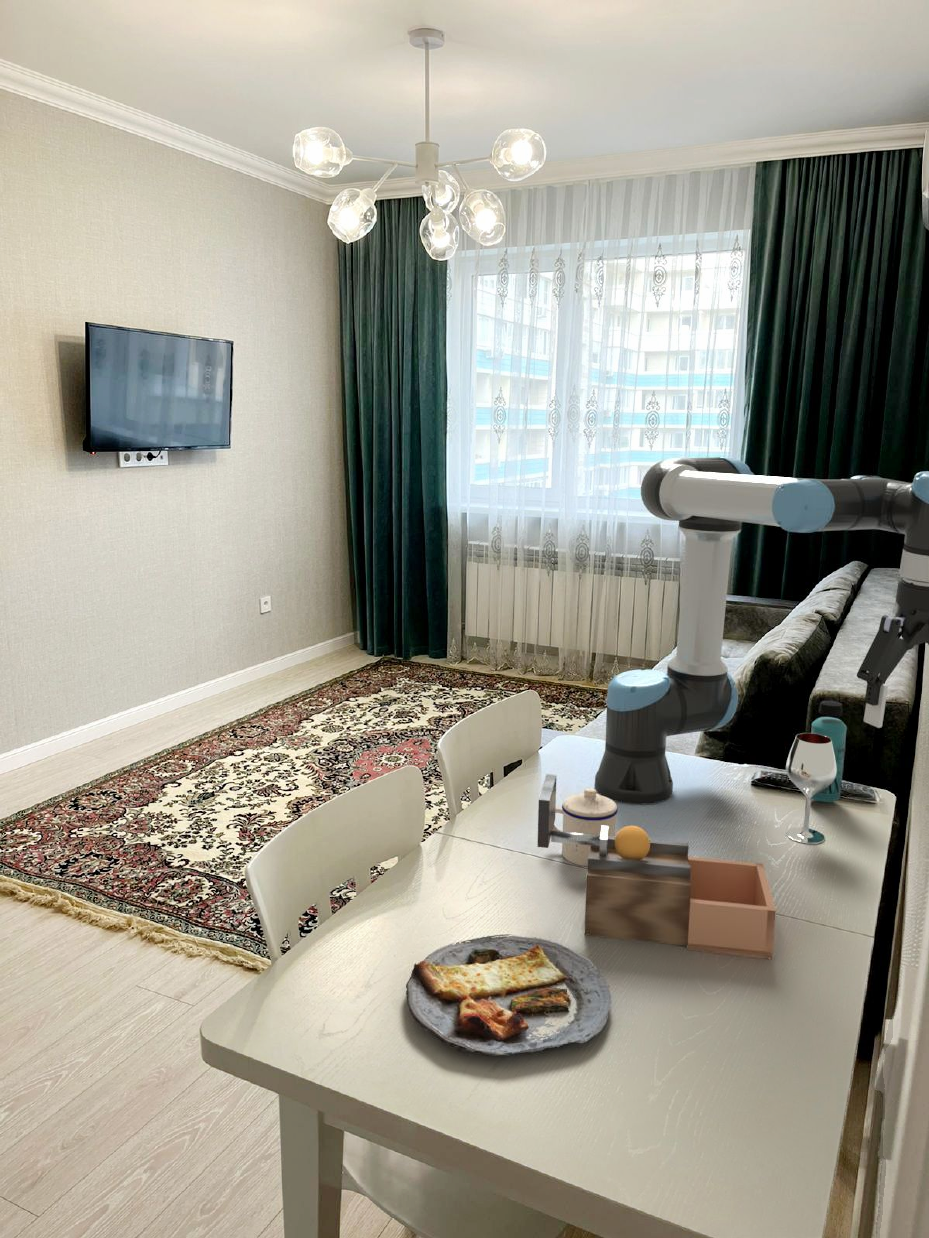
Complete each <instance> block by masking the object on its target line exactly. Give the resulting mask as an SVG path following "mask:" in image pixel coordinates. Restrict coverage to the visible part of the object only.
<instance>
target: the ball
mask: <svg viewBox="0 0 929 1238" xmlns="http://www.w3.org/2000/svg"><path fill="white" fill-rule="evenodd" d="M650 840H651V839H650V837H649V835H648V833H647V832H646V831H645V830H644V829H643V828H641V827H640V826H637V825H627V826H623V828H621V829H619V830H618V832H617V833H616V834H615V849H616V851H617V853H618V854H619V856H620V857H622V858H623V859H632V860H642V859H643V858H644V857H645V856H646V855H647V854H648V852H649V849H650Z"/></svg>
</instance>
